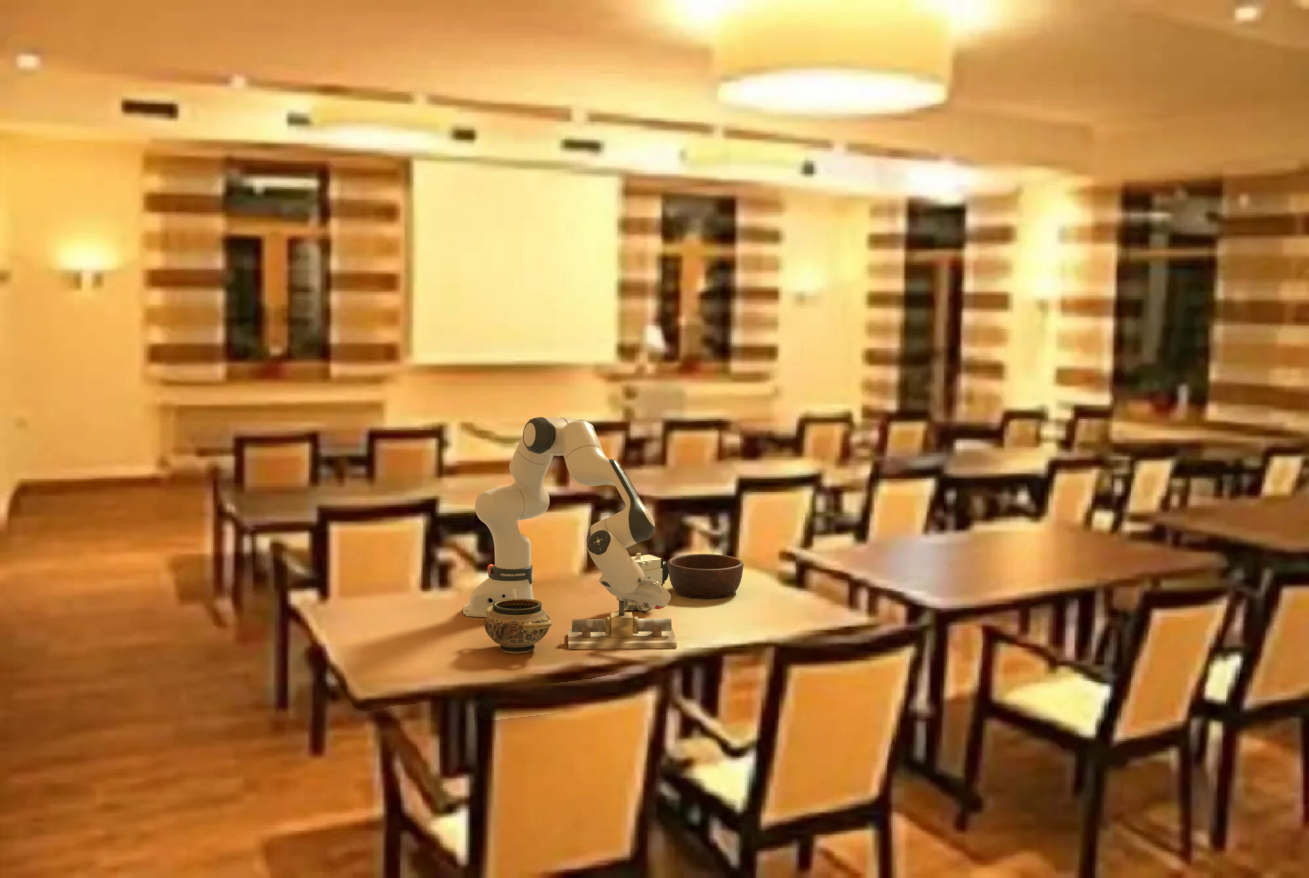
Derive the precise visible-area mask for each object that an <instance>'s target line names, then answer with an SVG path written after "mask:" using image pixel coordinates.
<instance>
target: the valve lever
mask: <svg viewBox="0 0 1309 878" xmlns="http://www.w3.org/2000/svg"><path fill="white" fill-rule="evenodd" d="M615 597H616V600H615V601H618V602H619V601H626V602H632V603H637V604H640V603H638V602H637V601H635V600H631V599H627V598H622V597H618V596H615ZM641 606H642V605H641ZM642 607H643V606H642ZM664 608H665V607H662V606H658V605H656V607H655V608H654V609H655V610H662V609H664ZM654 609H653V610H654Z"/></svg>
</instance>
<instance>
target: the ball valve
mask: <svg viewBox="0 0 1309 878" xmlns="http://www.w3.org/2000/svg"><path fill="white" fill-rule="evenodd" d="M631 557H632V558H633V559H634V560H635V561H636V563H637V564H638V565H639V567H640V568H641V569H642V570H643V573H644V579H649V580H654V581H657V582H658V583H660V584H661V585H662V586H663V587H664V585H665V584H666V583H665V582H666V581H667V580H668V578H669V570H668V563H667V562H666V561H665V559H664V557H660V556H657V555H654V554H652V553H651V554H644V555H642V553H641V552H637V553H636V555H635V556H631ZM625 610H627V611H629V610H630V611H629V612H631V611H632V612H633V611H637V610H638V611H639V612H642V611H644V612H646V611H649V610H650V609H649V608H644V607H642V606H641V604H637V603H632V602H626V601H625Z"/></svg>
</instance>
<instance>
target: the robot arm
mask: <svg viewBox="0 0 1309 878" xmlns="http://www.w3.org/2000/svg"><path fill="white" fill-rule="evenodd" d="M602 447H603V446H602V444H601V441H600V440H599V437H598V435H597V432H596V429H595V427H594V425H593V424H592V423H590V422H589V421H586V420H584V419H574V418H569V417H542V416H539V417H538V416H537V417H533V418H530V419H529V420H528V421H527V422H526V424H525V425H524V427H523V433H522V436H521V438H520V440H519V442H518V444H517V446H516V449H515V451H514V453H513V455H512V459H511V461H510V463H509V465H508V466H509V472H510V475H511V476H512V478H513V479H514V482H513V483H512V484H510V485H506V486H499V487H493V488H492V487H491V488H489V489H487V490H485V491H483V492H481V493H479V494H478V495H477V497H476V499H475V503H474V510H475V513H476V516H477V518H478V519H479V520H480V521H481V522H482V523H484V524H485V525H486V526H487V528H488V529H489V531H490V533H491V536H492V539H493V545H494V546H493V548H494V564H492V563H491V564H488V566H487V571H488V572H487V573H488V578H487V579H485V580H484V581H482V582H481V583H480V584H479V585H477V586H476V587H474V589H473V590H472V592H471V595H470V599H469V603H467V604H465V605H464V606H463V608H462V614H463V615H464V614H465V615H464V616H466V617H476V618H477V617H481V618H485V617H486V615H487V614H486V609H487V608H488V607H490V606H493V603H495V602H497V601H501V600H507V599H533V600H535V599H534V592H533V585H532V584H533V581H534V569H533V564H532V543H531V540H530V538H529V537H528V536H527V535H525V534H523V533H522V532H521V531H520V529H519V523H518V522H519V521H525V520H530V519H531V520H532V519H534V518H537V517H540V516H541V515H543V514H545V513H546V512H547V511H548V508H549V506H550V495H549V492H548V490H547V489H546V488H545V487H544V481H545V478H546V475H547V472H548V470H549V467H550V465H551V463H552V461H553V458H554V456H557V457H560V456H563V458H564V462H565V465H566V469H567V471H568V473H569V475H570V477H571V478H572V480H573V481H575V482H576V483H577V484H580V485H581V486H586V487H587V486H588V487H599V486H615V487H616V489H617V491H618V493H619V495H620V497H621V498H622V501H624V504H625V506H624V507H625V508H623V509H622V510H621V511H619V512H617V513H614V514H612V515H610V516H608V517H605V518H603V519H601V520H599V521H597V522H595V523H593V524H592V525H590V527H589V529H588V532H587V536H586V548H587V551H588V554H589V556H590V558H591V559H592V562H593V563H594V565H595V566H596V568H598V569H599V570H600V571H601V573H602V574H601V576H600V578H599V579H598V583H600V584H601V585H602V586H603V587H604V588H605V589H606V590H607V591H608V592H609V593H610V594H611V595H612V596H614V597H616V596H618V597H622V598H627V599H631V600H635V601H637V602H638V603H640V604H641V605H642V606H643V607H644V608H649V610H654V608H655V607H656V605H658V606H662V607H664V608H665V607H666V606H668V605H669V603H670V600H671V599H672V595H671V593H670V592H669V591H668V590H667V589H666V588H665V587H664V585H663V586H662V585H661V584H660V583H658V582H657V581H654V580H649V579H644V573H643V570H642V569H641V568H640V567H639V565H638V564H637V563H636V561H635V560H634V559H633V558H632V557H633V556H631V555H630V554H629V552H628V549H627V548H629V547H632V546H635V545H636V544H639V543H642V542H645V541H648V540H650V539H651V538H652V536H653V533H654V532H655V529H656V524H655V520H654V517H653V516H652V514H651V511H650V510H649V509H648V508H647V507H646V505H645V504H644V502H643V501H642V498H640V495H639V494H638V492H637V490H636V488H635V487H634V484H633V483H632V481H631V479H630V478H629V476H628V474H627V473H626V471H625V470H624V468H623V466H621V464H620V463H619V462H618V460H615V459H613V458H609V457H607V456H606V454H605V453H604V449H603V448H602Z"/></svg>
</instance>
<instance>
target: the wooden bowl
mask: <svg viewBox="0 0 1309 878" xmlns="http://www.w3.org/2000/svg"><path fill="white" fill-rule="evenodd" d="M667 566H668V570H669V575H668V578H669V581H670V585H671V587H672V589H673V590H674V592H675V593H677V594H679V595H681V596H684V597H687V596H688V598H696V599H718V598H726V597H729V596H732V595H734V594H735V593H736V592H737V590H738V589H739V587H740V585H741V582H742V577H743V572H744V562H743V560H741V559H739V558H737V557H734V556H729V555H723V554H713V553H692V554H683V555H682V554H681V555H677V556H674V557H673V556H672V557H671V558H669V559H668V560H667Z"/></svg>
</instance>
